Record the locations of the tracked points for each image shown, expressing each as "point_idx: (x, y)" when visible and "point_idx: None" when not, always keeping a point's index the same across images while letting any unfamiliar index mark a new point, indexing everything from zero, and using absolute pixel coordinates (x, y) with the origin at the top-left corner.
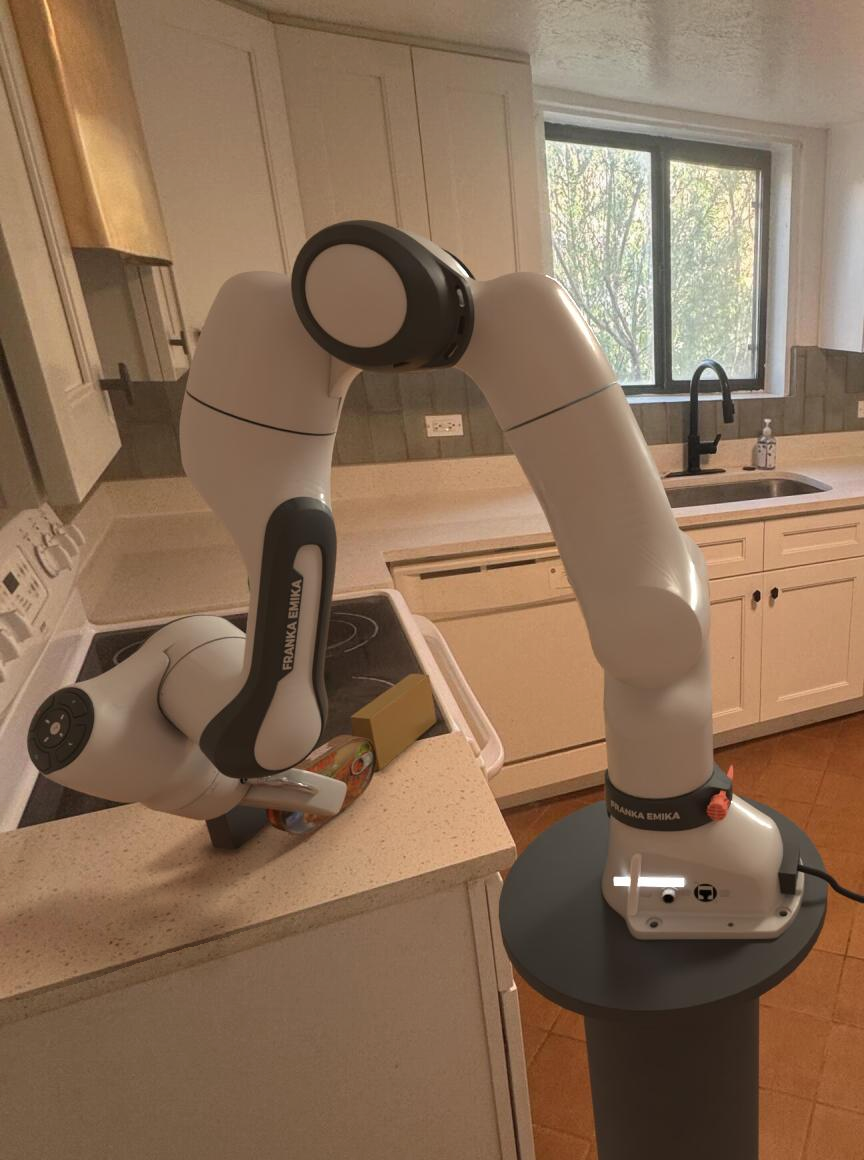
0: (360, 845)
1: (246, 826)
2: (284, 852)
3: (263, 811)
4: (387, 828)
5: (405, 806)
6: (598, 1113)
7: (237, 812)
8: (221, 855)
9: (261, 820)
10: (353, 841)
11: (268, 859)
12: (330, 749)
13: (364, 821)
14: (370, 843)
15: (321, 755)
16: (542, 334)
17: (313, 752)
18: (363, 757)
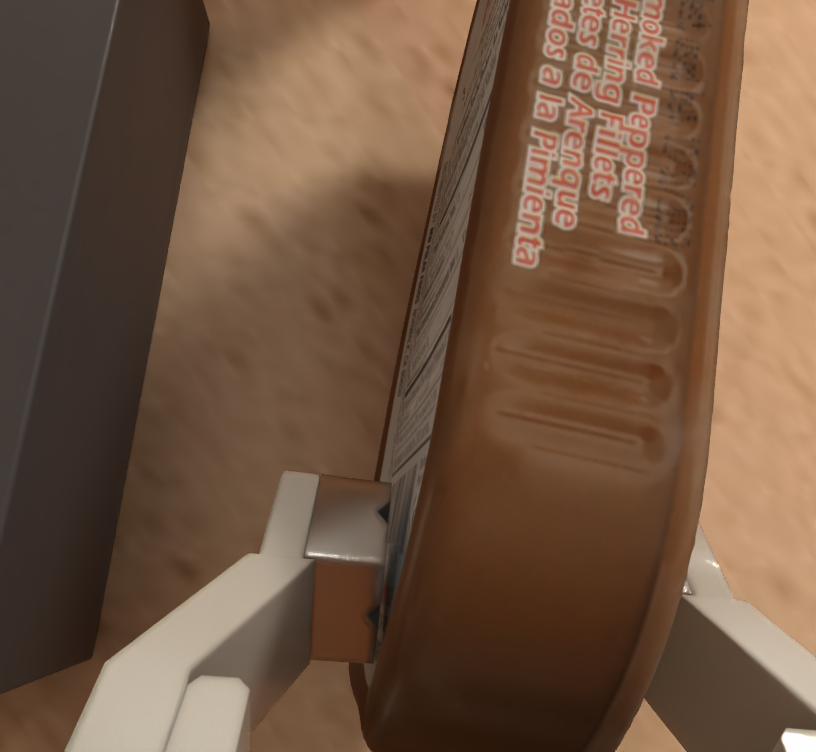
0: (757, 546)
1: (83, 543)
2: None
3: (107, 399)
4: (801, 395)
5: (773, 213)
6: None
7: (19, 586)
8: (42, 713)
9: (118, 438)
10: (699, 516)
11: (340, 718)
12: (675, 19)
13: None
14: (797, 525)
15: (673, 137)
16: None
17: (545, 87)
18: None
